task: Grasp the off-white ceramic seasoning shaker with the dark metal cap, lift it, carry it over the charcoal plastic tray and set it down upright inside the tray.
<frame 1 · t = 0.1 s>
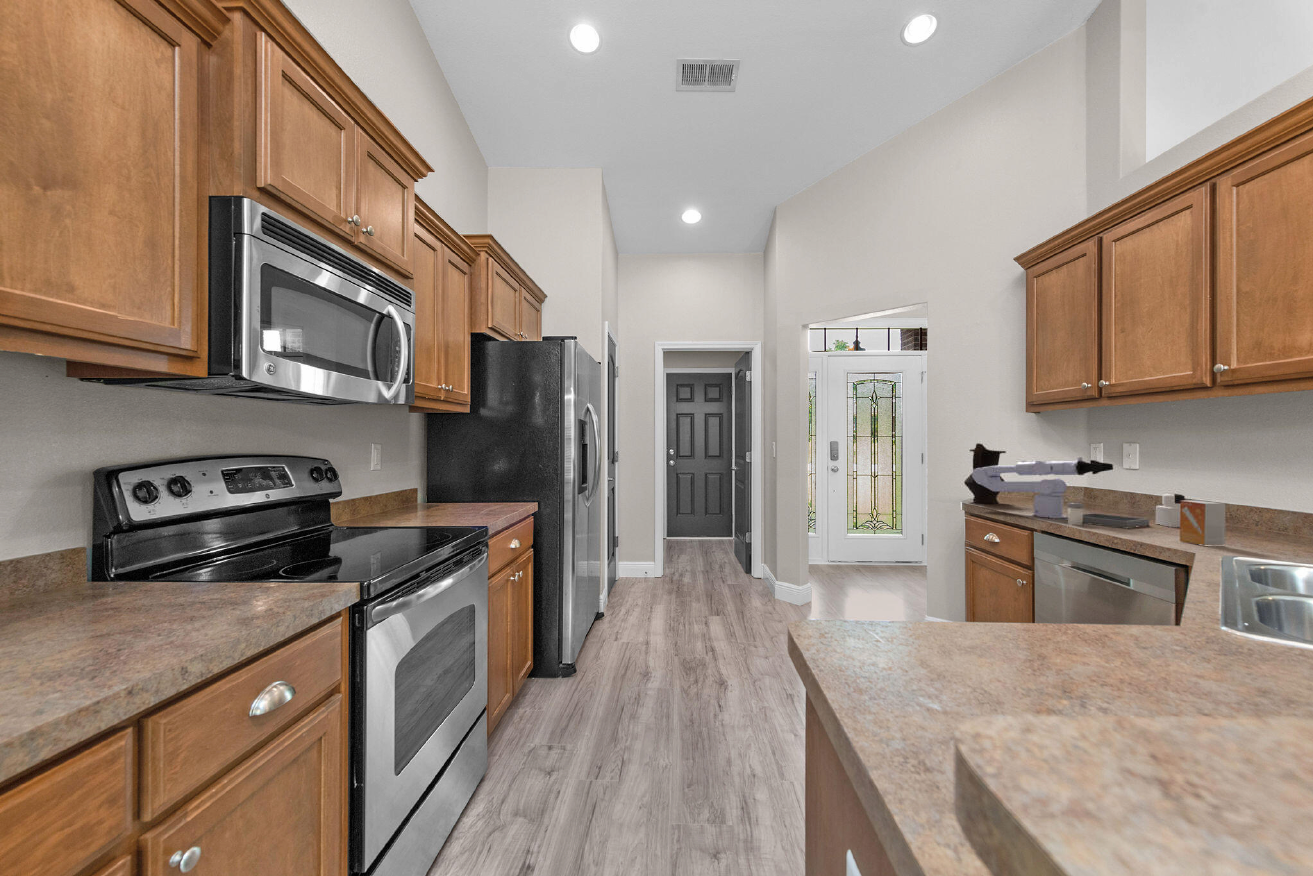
hand: (1107, 467, 207), 22 cm above the counter, tool horizontal, fingers open, 7 cm apart
jug: (984, 503, 274), on the counter
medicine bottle: (1173, 526, 204), on the counter
tray: (1109, 523, 208), on the counter
small box: (1201, 544, 168), on the counter
shaker: (1075, 524, 205), on the counter
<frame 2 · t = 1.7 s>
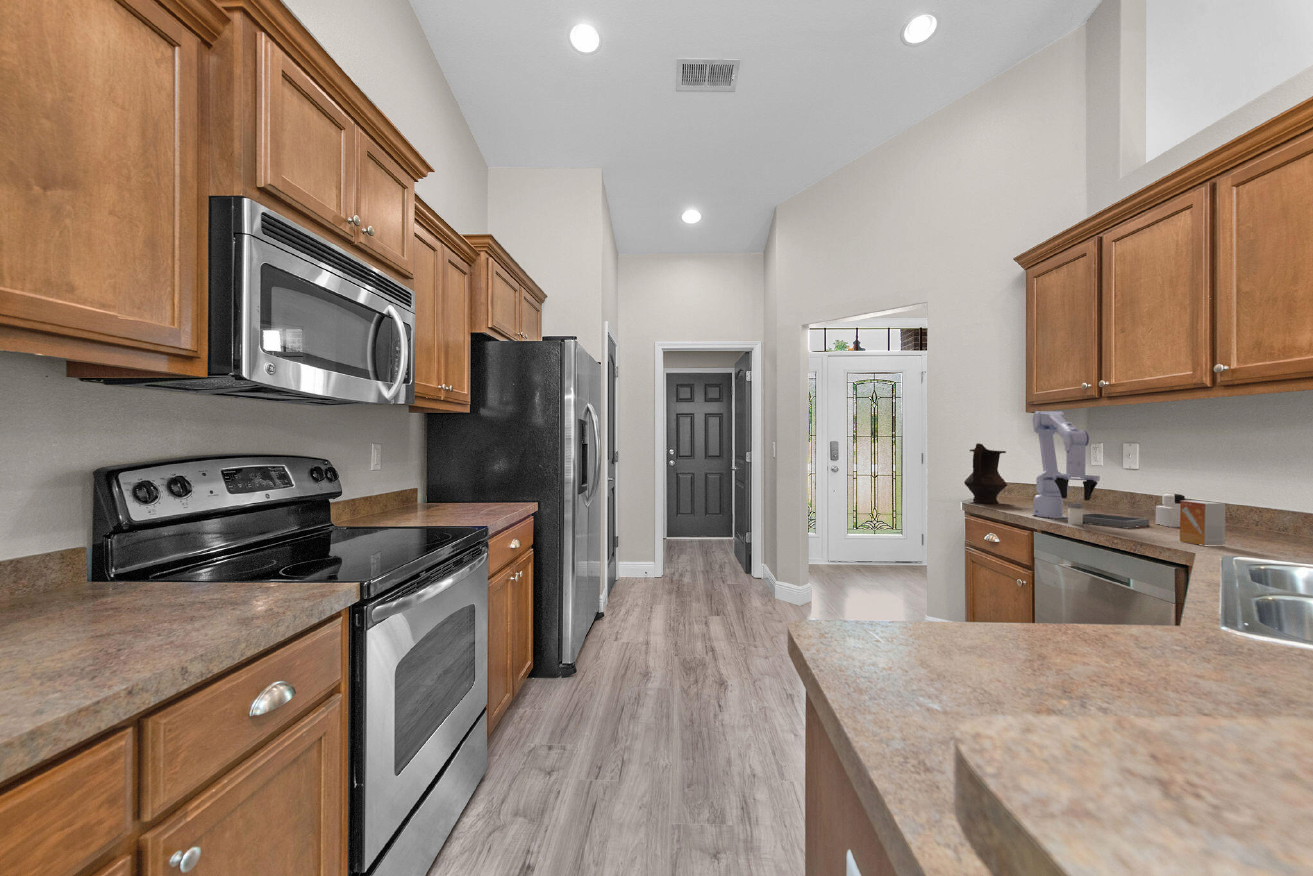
hand: (1075, 499, 205), 9 cm above the counter, tool pointing down, fingers open, 7 cm apart
nothing on the counter moved.
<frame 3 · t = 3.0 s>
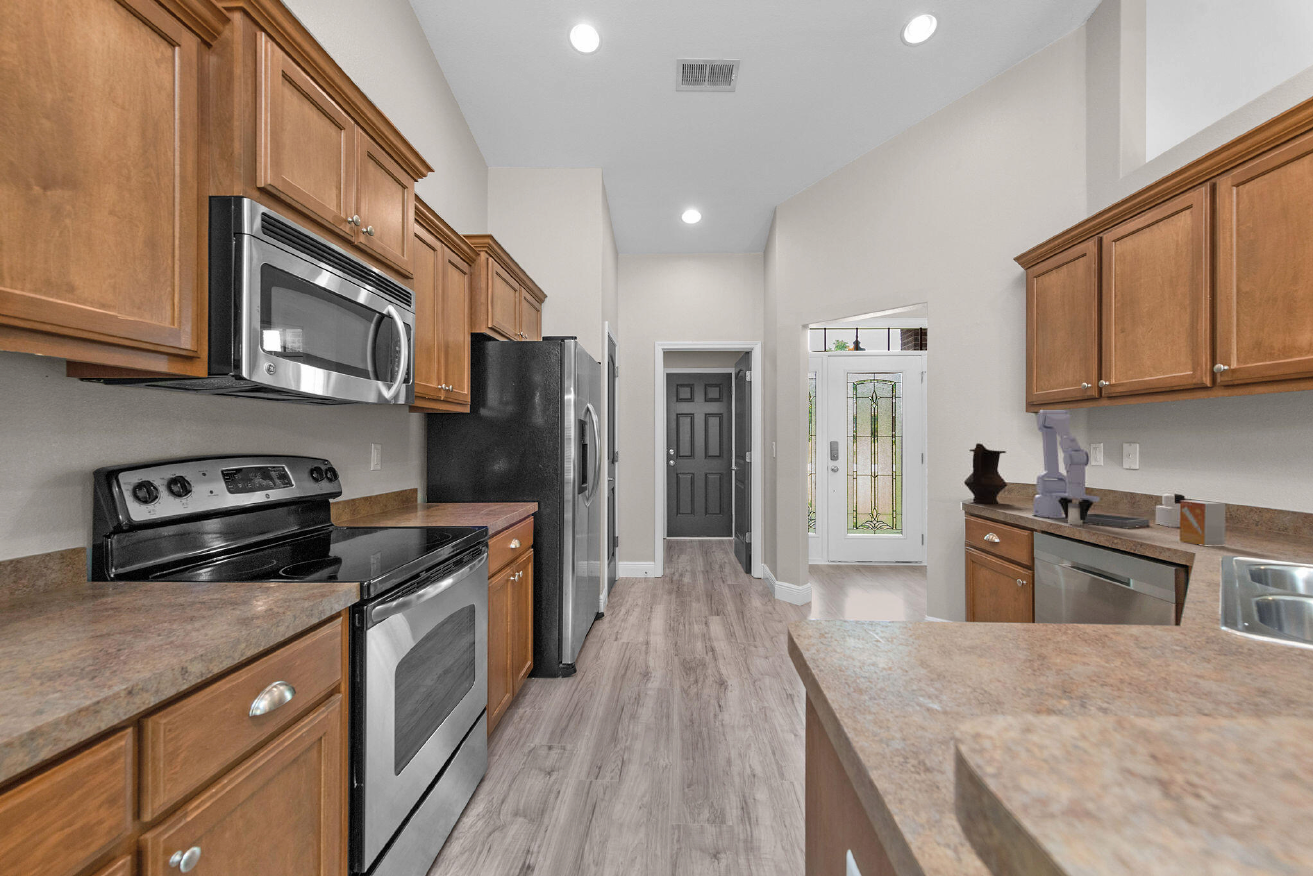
hand: (1075, 519, 205), 2 cm above the counter, tool pointing down, fingers closed on shaker, 4 cm apart
shaker: (1075, 524, 205), on the counter, touching gripper
everything else where it was.
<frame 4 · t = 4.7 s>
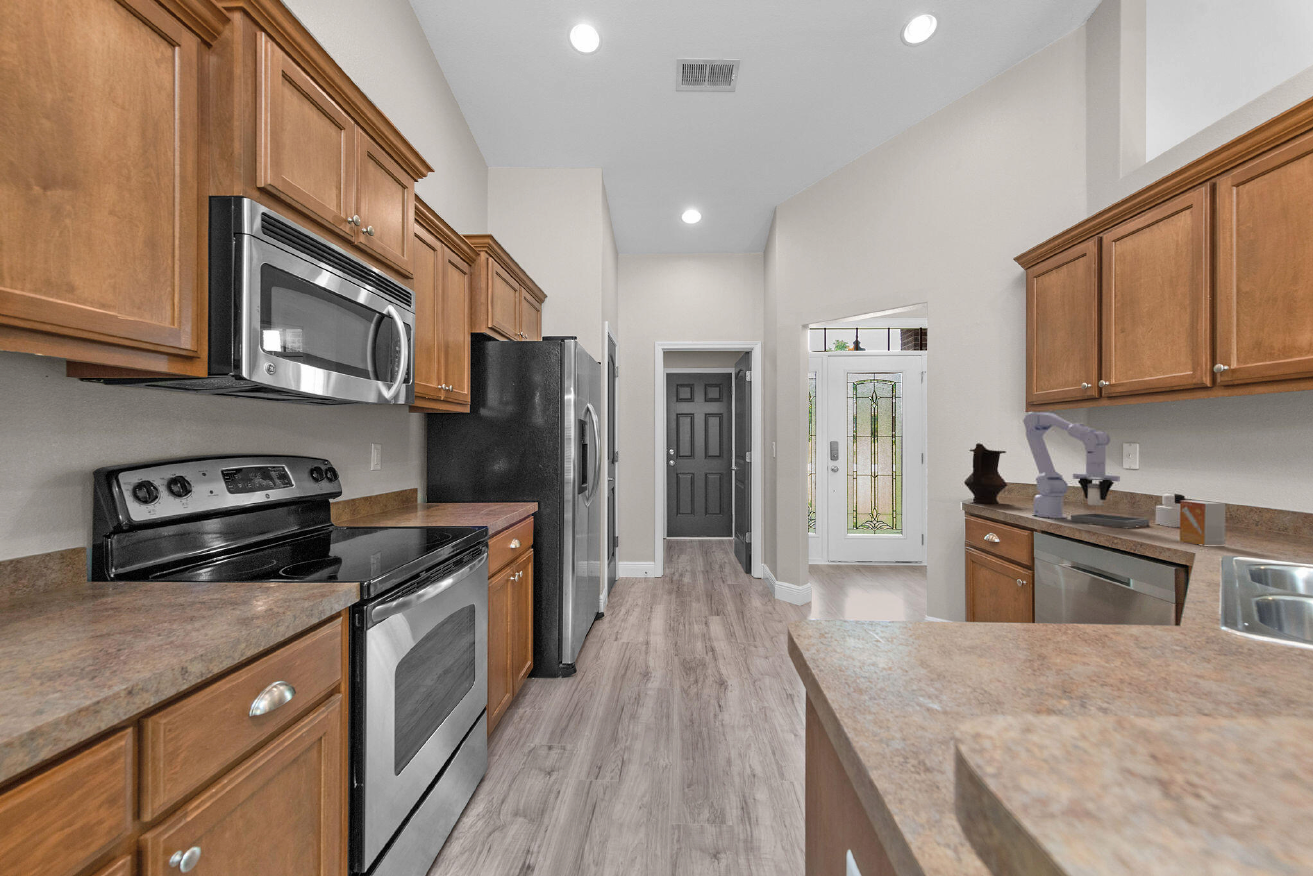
hand: (1095, 499, 207), 9 cm above the counter, tool pointing down, fingers closed on shaker, 4 cm apart
shaker: (1095, 504, 207), point 7 cm above the counter, touching gripper
everything else where it was.
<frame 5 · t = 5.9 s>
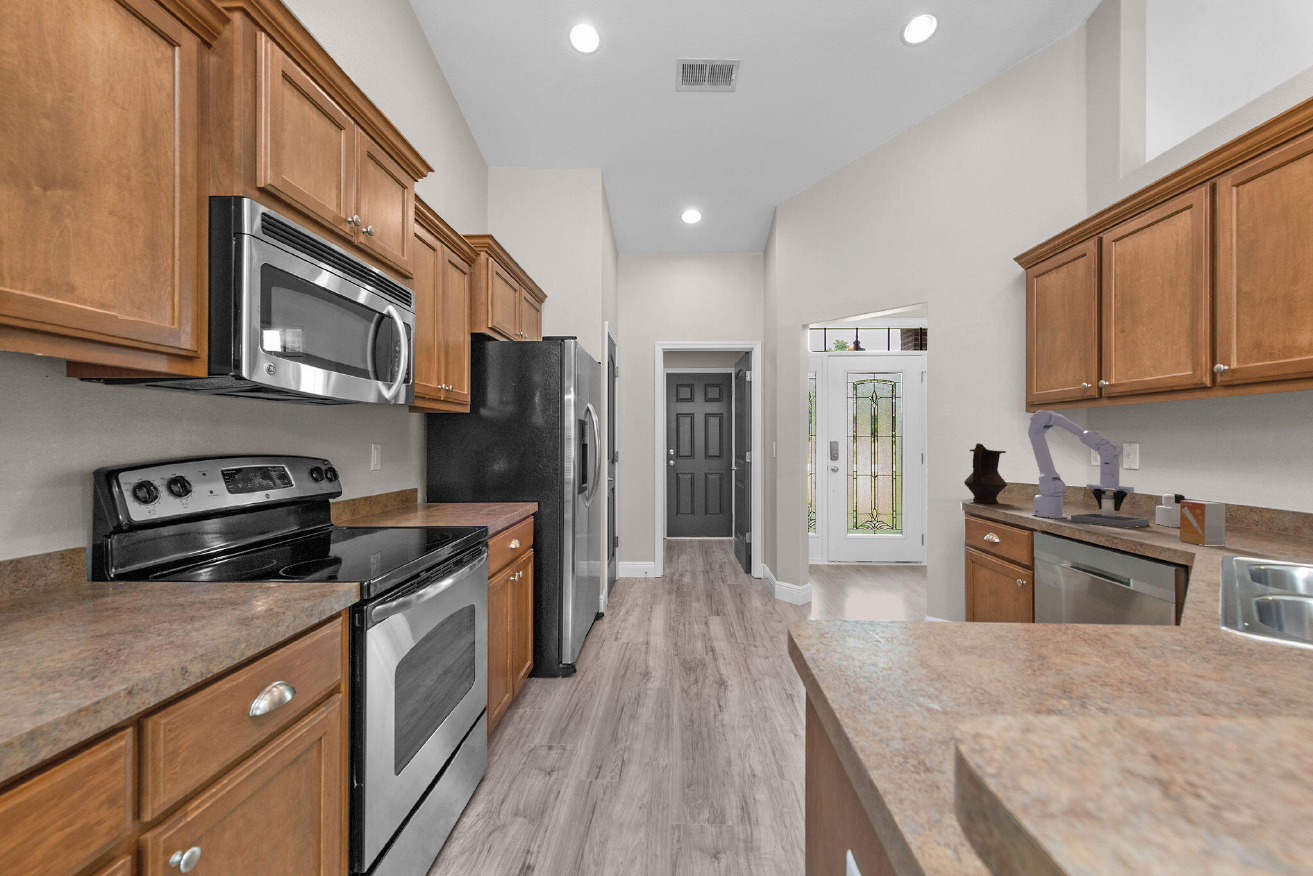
hand: (1109, 509, 208), 5 cm above the counter, tool pointing down, fingers closed on shaker, 4 cm apart
shaker: (1108, 515, 208), point 3 cm above the counter, touching gripper
everything else where it was.
when the fingers open (4 cm above the counter, at t = 6.6 s): shaker drops 1 cm, resting on tray.
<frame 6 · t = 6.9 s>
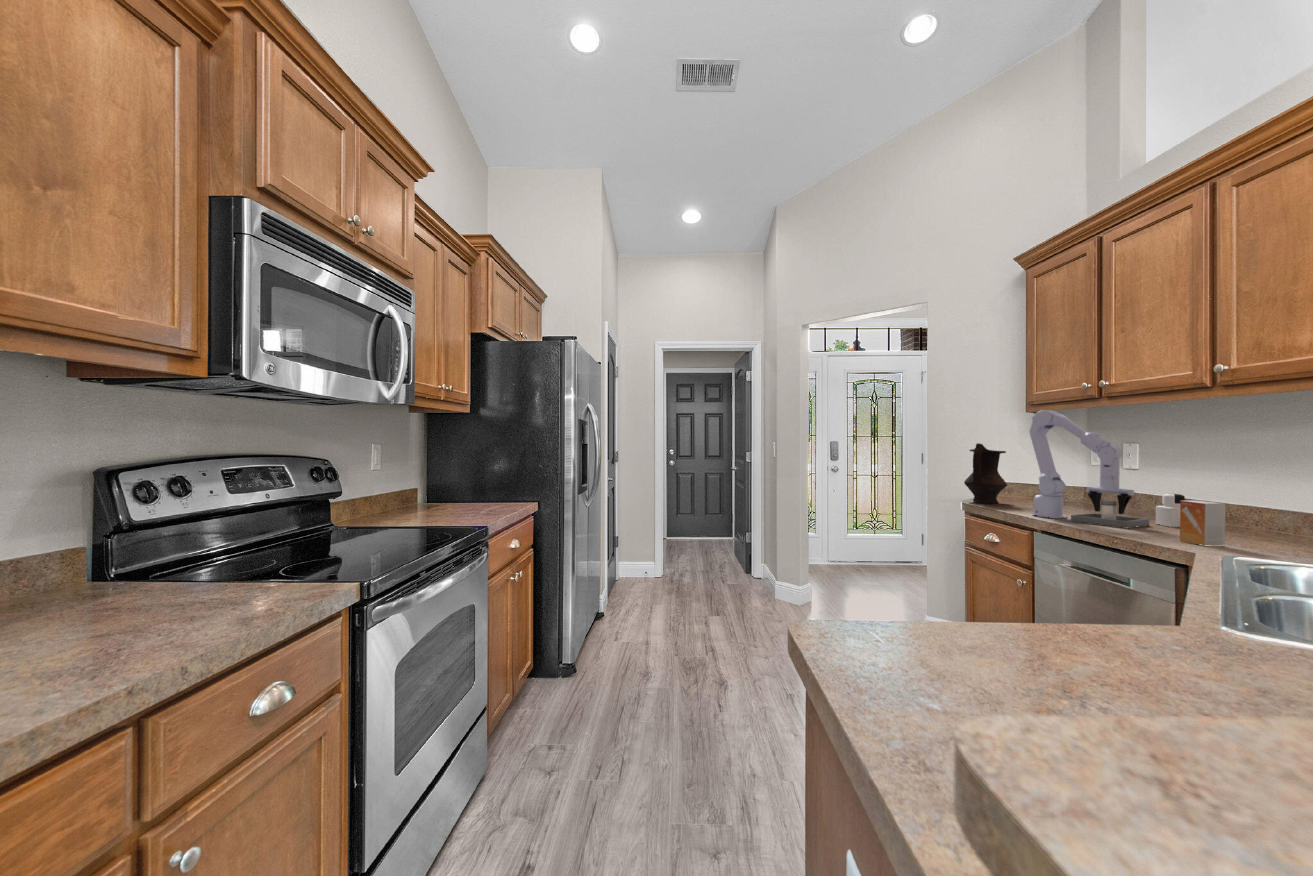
hand: (1109, 512, 208), 4 cm above the counter, tool pointing down, fingers open, 7 cm apart
shaker: (1108, 521, 208), point 1 cm above the counter, touching tray
everything else where it was.
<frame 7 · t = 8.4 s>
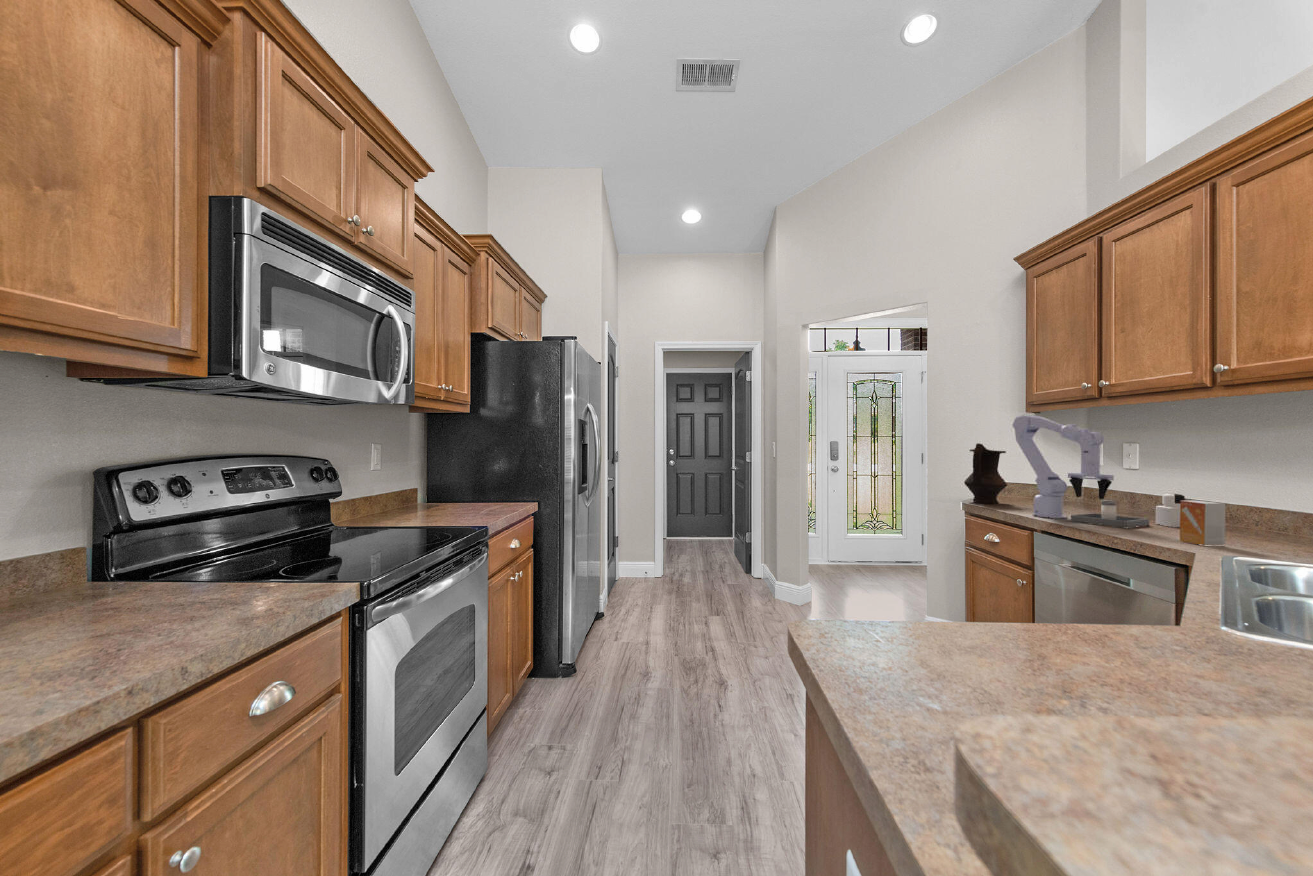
hand: (1089, 497, 211), 9 cm above the counter, tool pointing down, fingers open, 7 cm apart
nothing on the counter moved.
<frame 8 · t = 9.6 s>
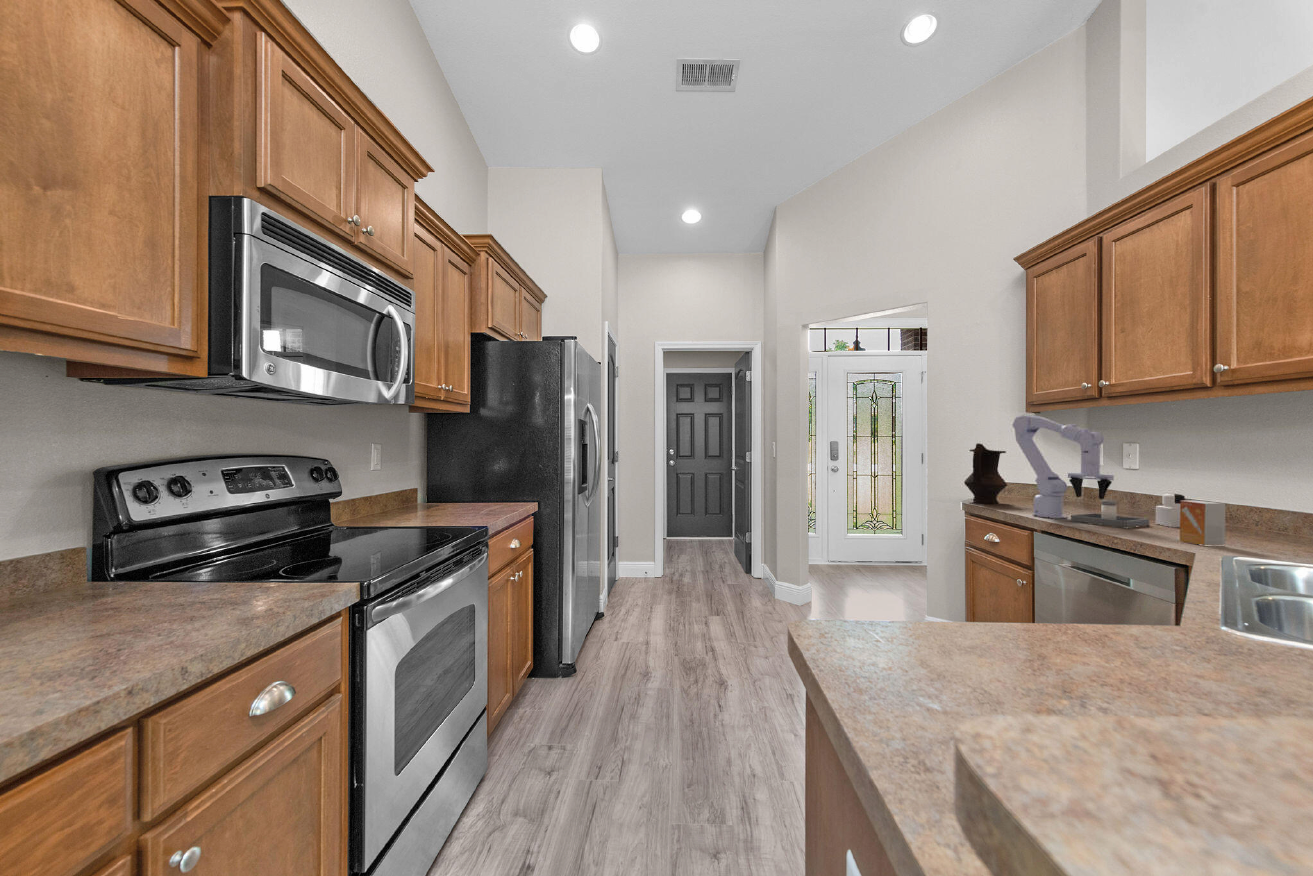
hand: (1089, 497, 211), 9 cm above the counter, tool pointing down, fingers open, 7 cm apart
nothing on the counter moved.
at the end: shaker inside the target area on the tray (0.3 cm from its centre), point 0.8 cm above the tray's base; shaker tilted 0°; the gripper is holding nothing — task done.
